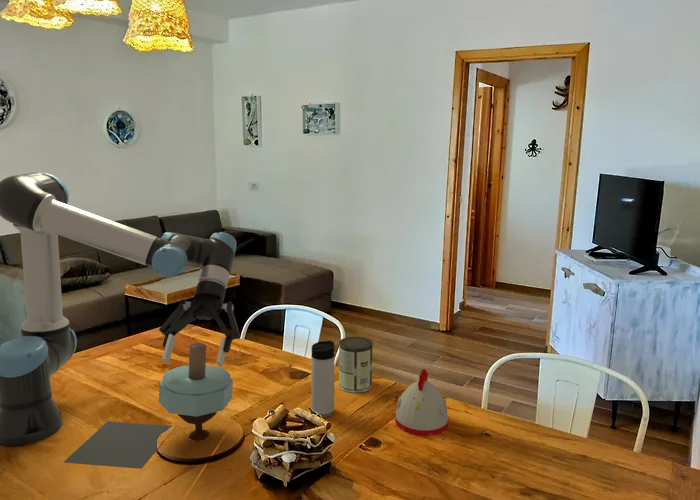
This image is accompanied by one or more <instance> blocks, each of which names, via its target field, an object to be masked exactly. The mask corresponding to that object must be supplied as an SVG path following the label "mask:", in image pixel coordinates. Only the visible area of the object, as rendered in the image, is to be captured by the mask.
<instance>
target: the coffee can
mask: <svg viewBox="0 0 700 500" xmlns="http://www.w3.org/2000/svg"><path fill="white" fill-rule="evenodd" d="M373 345H374V342H373V341H372V340H371V339H370V338H367V337H363V336H348V337H344V338H341V339H339V341H338V346H339V349H338V350H339V351H338V360H339V361H338V364H339V366H338V372H339V374H338V375H339V377H338V380H339V381H338V387H339V388H340V389H341V390H342V391H344V392H347V393H352V394H353V393H354V394H360V393H364V392H367V391H369V390H371V389H372V388H373V384H372V383H373V381H372V380H373Z"/></svg>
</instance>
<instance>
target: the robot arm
mask: <svg viewBox="0 0 700 500" xmlns="http://www.w3.org/2000/svg"><path fill="white" fill-rule="evenodd" d="M69 198H70V194H69V191H68V188H67V187H66V185H65V183H64V182H63V181H62V180H61V179H60V178H58V177H57V176H56V175H53V174H50V173H46V172H38V171H36V172H30V173H24V174H15V175H11V176H7V177H6V178H3V179H1V180H0V217H1V218H3V219H4V220H6V221H7V222H8V223H11V224H12V226H13V227H14V228H15V229H16V230H18V232H19V233H20V243H21V258H22V259H21V260H22V270H23V272H22V273H23V284H24V297H25V298H24V299H25V300H24V301H25V312H26V319H25V321H23V323H22V324H21V325H20V334H21V336H20V337H16V338H13V340H12V339H11V340H8V341H5V342H4V343H2V344H0V445H2V446H7V447H17V446H26V445H28V444H33V443H36V442H39V441H42V440H44V439H46V438H49V437H51V436H53V435H54V434H56V433H57V432H58V431H59V430H60V429H61V428H62V426H63V417H62V413H61V412H60V411H59V409H58V406H57V404H56V402H55V400H54V398H53V395H52V393H53V392H52V383H51V382H52V381H51V377H52V376H53V375H55V373H56V372H58V370H60V369H61V368H62V367H63V366H65V365H66V363H68V361H69V360H71V359H72V356H73V355H74V353H75V352H76V349H77V344H78V343H77V342H78V341H77V340H78V339H77V335H76V333H75V331H74V330H73V329H71V326H70V320H69V319H68V318H67V317H66V316H64V314H63V313H64V312H63V299H62V298H63V297H62V284H61V283H62V282H61V267H60V264H61V263H60V249H59V248H60V246H59V236H61V237H63V238H67V239H69V240H71V241H75V242H78V243H82V244H84V245H87V246H88V247H89V246H90V247H92V248H95V249H97V250H101V251H104V252H107V253H110V254H112V255H115V256H118V257H121V258H124V259H126V260H130V261H132V262H135V263H138V264H141V265H144V266H146V267H149V268H151V269H153V270H154V272H155V273H156V274H157V275H159V276H160V277H163V278H173V277H175V276H177V275H179V274H181V273H182V272H184V271H185V269H186V267H187V266H188V265H191V266H193V265H194V266H199V267H201V270H200V274H199V278H198V280H197V282H198V283H197V285H196V287H195V291H194V296H193V299H192V301H186V300H185V299H180V301H179V304H178V306H177V307H176V308H175V309H174V310H173V312H172V313H171V314H170V315H169V316H168V318H167V319H166V320H165V321H164V322H163V324H162V325H160V327H159V328H158V329H159V332H160V333H161V334H162V335H163V336H164V339H163V342H162V348H163V349H164V351H163V353H162V357H161V360H163V362H164V363H165V364H169V363H170V360H171V356H172V352H173V349H174V346H175V343H176V338H175V336H176V335H177V334H179V332H181V331H182V330H183V329H185V328H186V327H187V326H188V325H190V324H191V323H192V322H195V321H197V319H198V320H199V321H201V320H202V321H203V320H206V321H211V320H213V319H214V320H215V321H216V323H217V324H218V326H219V327H220V330H221V331H222V333H223V334H224V336H221V340H220V344H219V349H218V354H217V359H216V361H215V362H216V363H217V366H218V367H223V366H224V360H225V356H226V353H227V354H229V352H230V350H231V348H232V342H233V340H239V339H241V333H240V330H239V327H238V324H237V320H236V317H235V306H234V304H233V302H232V301H228V302H226V303H224V300H225V296H226V293H227V292H226V291H227V287H228V284H229V283H228V282H229V280H230V274H231V272H232V271H231V270H232V268H233V263H234V260H235V255H236V250H237V244H238V243H237V240H236V238H235V237H234V236H233V235H231V234H229V233H226V232H223V231H220V232H214V233H212V234H211V236H210V237H209V238H203V237H202V238H201V237H197V236H192V235H186V234H182V233H179V232H169V231H167V232H164V233H163V234H162V235H161V237H158V236H156V235H153V234H150V233H147V232H146V231H145V232H144V231H141V230H140V229H136V228H134V227H131V226H129V225H128V226H127V225H125V224H122V223H119V222H116V221H114V220H111V219H109V218H105V217H103V216H100V215H97V214H95V213H91V212H89V211H86V210H84V209H81V208H78V207H76V206H73V205H70V204H68V203H69ZM189 308H190V309H189ZM223 310H224V311H225V313H227V316H228V320H229V321H228V322H229V324H230V328H231V330H232V332H230V330H229V329H228V328H227V326H226V324H225V323H224V322H223V320H222V319H221V317H220V315H219V314H220V313H221V312H222V311H223ZM186 311H187V312H186ZM185 313H186V314H185ZM184 314H185V315H184Z"/></svg>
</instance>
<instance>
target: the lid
mask: <svg viewBox="0 0 700 500" xmlns="http://www.w3.org/2000/svg"><path fill="white" fill-rule="evenodd" d="M188 348H189V353H188V365H187V364H186V365H181V366H178V367H174V368H172V369H170V370H168V371H166V372H165V373H164V374H163V375H162V378H161V381H160V382H159V383H158V384H159V385H158V388H159V389H158V403H159V404H160V405H161V406H162V407H163V408H164V409H165V410H166V412H168V413H169V414H173V415H174V414H175V415H178V414H180V415H188V416H196V417H197V416H201V415H205V414H209V413H214V412H217V413H218V412H222V411H224V410H225V408H226V407H227V406H228V405H229V403H230V402H231V401H232V399H233V388H234V387H233V385H234V382H233V381H234V380H233V378H231V373H230V372H229V371H228V370H227V369H225V368H222V367H221V366H215V365H209V364H206V363H207V344H205V343H202V342H199V343H197V342H196V343H191V344H189V347H188Z"/></svg>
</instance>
